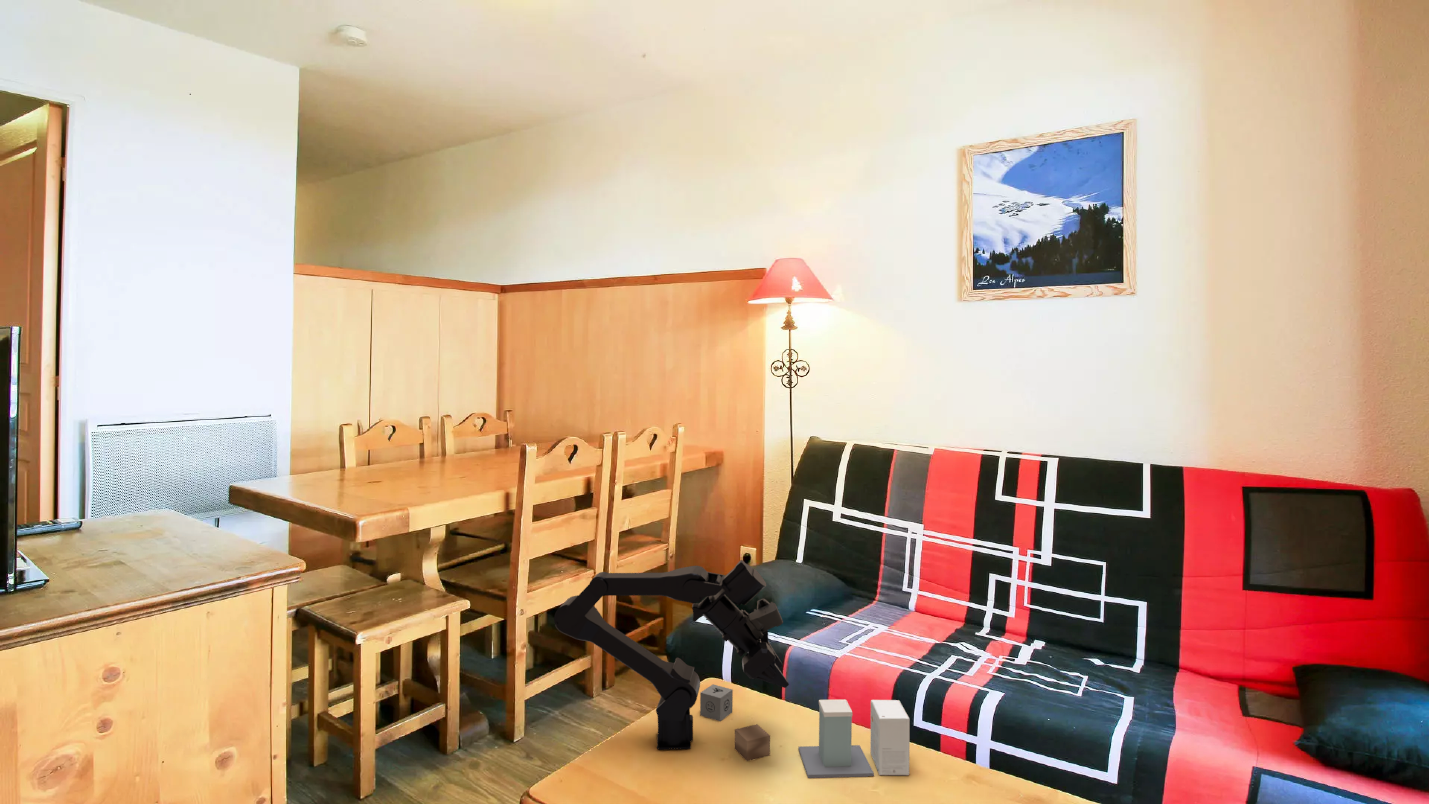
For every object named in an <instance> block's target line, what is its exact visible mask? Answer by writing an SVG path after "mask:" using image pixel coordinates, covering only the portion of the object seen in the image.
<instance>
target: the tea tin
mask: <svg viewBox="0 0 1429 804" xmlns="http://www.w3.org/2000/svg"><path fill="white" fill-rule="evenodd" d="M818 705H819V706H818V707H819V710H818V712H819V714H818V715H819V716H818V717H819V718H818V746H819V754H820V757H821V760H822V762H823V765H824V767H836V766H851V745H852V737H853V736H852V734H853V733H852V730H853V729H852V728H853V727H852V725H853V722H852V721H853V711H852V708H851V706H850V704H849V703H848V700H847V699H819V700H818Z"/></svg>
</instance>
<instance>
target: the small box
mask: <svg viewBox="0 0 1429 804" xmlns="http://www.w3.org/2000/svg"><path fill="white" fill-rule="evenodd" d="M910 722H911V721H910V717H909V715H908V714H907V712H906V710H905V708H904V707H903V704H902V703H901V701H900V700H899V699H898V700H896V699H871V700H870V756H871V757H872V760H873V763H874V766H875V768H876V771H877V772H878V775H879V776H909V775H910V746H911V745H910V724H911V723H910Z"/></svg>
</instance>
